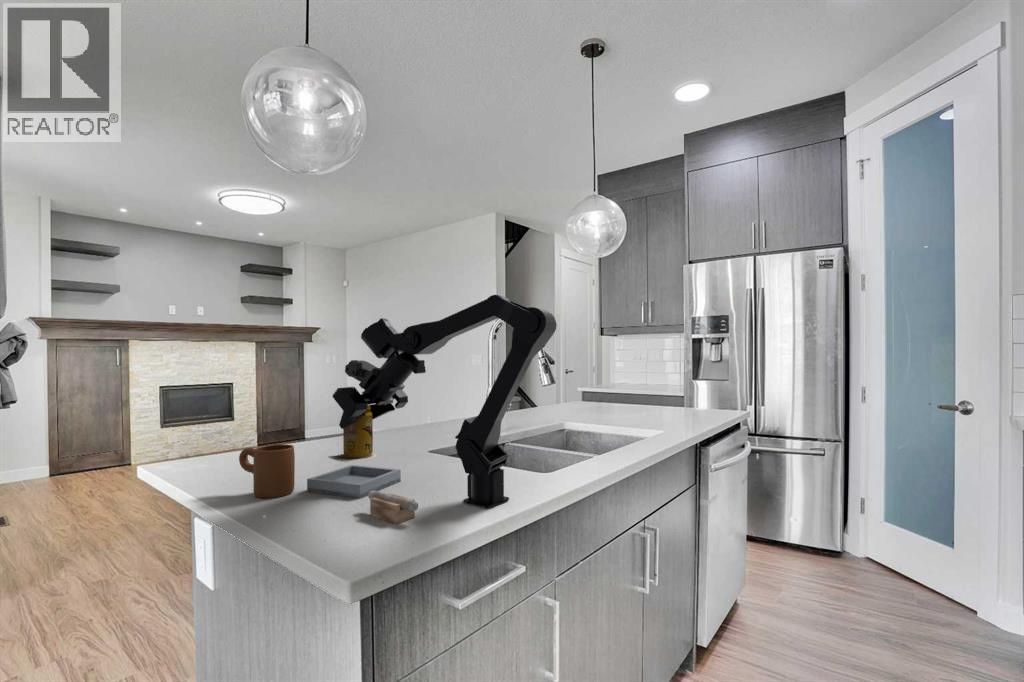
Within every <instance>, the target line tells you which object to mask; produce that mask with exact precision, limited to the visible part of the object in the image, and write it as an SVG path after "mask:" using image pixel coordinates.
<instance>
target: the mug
mask: <svg viewBox="0 0 1024 682" xmlns="http://www.w3.org/2000/svg"><path fill="white" fill-rule="evenodd" d="M295 454H296V453H295V447H294V445H292V444H270V445H263V446H259V447H256V448H254V447H246V448H244V449H242V451H241V452H240V454H239V455H238V456H239V457H238V460H239V465H240V467H241V468H242V470H244V471H245V472H248V473H251V474H253V476H252V477H253V478H252V479H253V495H254V496H255V497H256V498H258V497H259V498H258V499H275V497H276V498H280V497H284V496H289V495H290V494H292V493H293V492H294V490H295V475H296V474H295V473H296V472H295V471H296V469H295V468H296V466H295V463H296V462H295V457H296V456H295ZM248 456H250V457H251V458H253V463H251V462H250V460H249V457H248Z"/></svg>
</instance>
